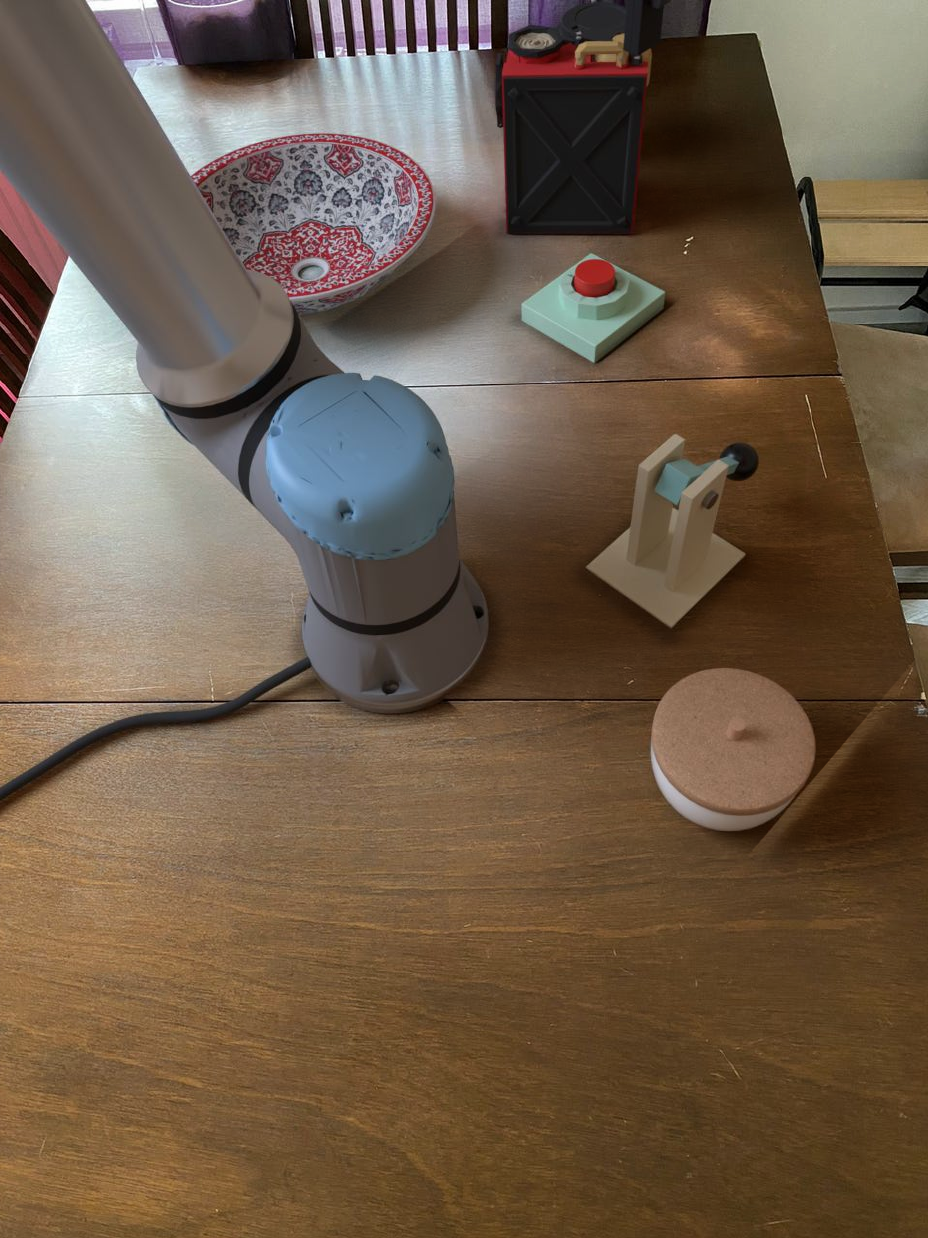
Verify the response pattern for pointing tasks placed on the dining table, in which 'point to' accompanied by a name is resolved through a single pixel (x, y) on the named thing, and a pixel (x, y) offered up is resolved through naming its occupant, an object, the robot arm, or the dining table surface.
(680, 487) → the switch
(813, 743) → the trinket box
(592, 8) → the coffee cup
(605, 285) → the button
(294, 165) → the ceramic bowl
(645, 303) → the button box
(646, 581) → the bracket
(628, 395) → the dining table surface
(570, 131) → the black and red jerrycan
